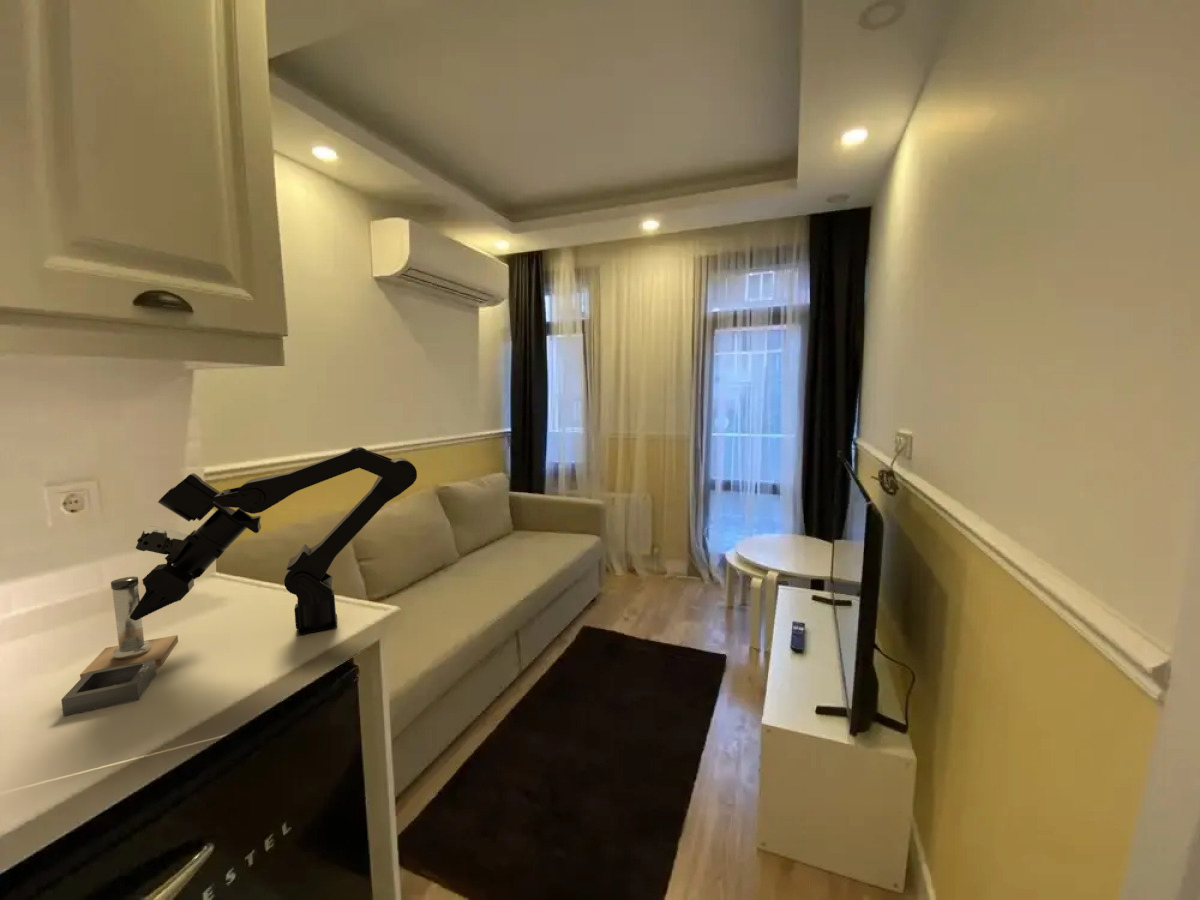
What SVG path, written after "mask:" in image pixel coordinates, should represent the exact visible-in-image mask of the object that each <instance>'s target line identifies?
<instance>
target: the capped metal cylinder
mask: <svg viewBox="0 0 1200 900" xmlns="http://www.w3.org/2000/svg"><path fill="white" fill-rule="evenodd" d="M139 584H140V582H139V577H138V576H127V577H122V578H117V579H114V580H112V581H110V587H111V588H110V589H111V590H112V597H113V599H112V600H113V608H114V616H115V625H116V633H117V642H118V645H119V648H117V649H115V650H114V651H113V658H114V660H127V659H132V658H135V657H138V656H141V655H144V654H146V653H147V652H149V651H150V650H151V642H149V641H147V640H145V637H144V627H143V619H142V618H143V617H142V618H140V619H138V620H136V621H135V620H133V619H131V618H130V615H131V614H132V612H133V611H134V609H135V608H136V606H137V605H138V603H139V602H140V600H141V598H140V591H139Z"/></svg>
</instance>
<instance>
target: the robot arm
mask: <svg viewBox="0 0 1200 900" xmlns="http://www.w3.org/2000/svg"><path fill="white" fill-rule="evenodd" d="M356 469H361V470H363V471H366V472H368V473H371V474H373V475H376V476H377V478H376V480H375V481H374V483H373V485H372V487H371V488H370V489H369V491H368V492H367V493H366V494H365V495H364V496H363V497H362V498H361V499H360V500H359V501H358V502H357V503H356V504H355V505H354V507H352V509H351V510H350V511H348V513H346V515H345V516H344V517H343V518H342V519H341V520H340V521H339V522H338V523H337V524H336V525H335V526H334V527H333V529H332V530H330V531H329V533H328V534H327V535H325V536H324V538H323V539H322V540H321V541H320V542H319V543H317V544H316V545H314V546H312V547H309V546H308V545H307V544H303V545H302V547H301V548H300V550H299V552H298V553H297V554H296V555H294V556H293V557H291V558H290V559H289V561H288V564H287V567H286V570H287V571H286V573H285V576H284V579H283V580H284V583H283V584H284V587H285V590H287V591H288V592H289V593H290V594H293V595H295V596H296V598H297V600H296V602H297V603H296V604H295V605H294V623H295V629H296V630H298V632H297V634H298V635H306V634H311V633H312V634H313V633H316V632H317V633H318V632H322V631H327V630H331V629H332V630H333V629H336V628H338V615H337V611H336V610H337V608H336V597H335V595H336V594H335V589H333V575H331V574H329V573H328V572H327V571H328V570H329V568H330V567H331V565H332V563H333V561H334V560H335V558H336V557H337V556H338V555H339V553H341V551H342V550H343V549H344V548H345V547H346V546H347V545H348V544H349V543H350V542H351V541H352V540H353V538H355V537H356V536H357V534H358V533H360V531H361V530H362V529H363V528H364V527H365V526H366V525H367V524H368V523H369V522H370V520H371V519H373V518H374V516H375V515H376V514H377V513H378V512H379V511H380V510H381V509H382V508H383V507H384V506H385V505H386V504H387V503H388V502H390V501H392V500H394V499H395V498H396V497H398V496H400V495H401V494H402V493H403V492H405V491H406V490H408V489H409V488H410V487H412V486H413V485H414V484H415V482H416V481H417V478H418V471H417V468H416V467H415V465H414V464H413V463H412V462H411V461H409V460H408V459H406V458H403V457H394V458H390V457H387V456H385V455H383V454H378V453H376V452H373V451H370V450H368V449H366V448H365V447H363V446H354V447H352V448H351V449H348V450H347V451H345V452H342V453H341V452H340V453H338V454H336V455H333V456H331V457H328V458H325V459H322V460H320V461H317V462H314V463H311V464H309V465H305V466H303V467H300V468H298V469H294V470H292V471H287V472H283V473H282V472H281V473H277V474H270V475H265V476H261V477H256V478H255V477H254V478H251V479H250V480H247V481H246V482H245V483H243V484H242V485H241V486H239V487H238V486H237V487H233V488H227V489H224V490H221V491H219V490H218V489H217V488H216V487H213V486H212V485H210V483H207V482H206V481H205V480H204V479H202V478H201V477H200V476H198V475H197V474H196V473H193V472H192V473H190V474H188V475H187V476H186V477H185V478H184V479H182V481H180V482H178V484H176V485H175V486H174V487H171V488H170V489H169V490H168V491H167V492H166V493H165V494H164V495H163V496H161V498H159V500H158V501H157V503H158V504H159V505H161V506H163V507H165V508H166V509H167V510H169V511H170V512H172V513H174V514H176V515H177V516H179V517H180V518H182V519H184V520H185V521H188V523H190V522H191V521H196V520H197V521H199V522H200V521H201V520H203V519H204V518H205V517H206V516H207V515H208V514H209V513H210V512H211V511H212V510H213V509H214V508H215V509H216V511H215V512H214V513H212V515H210V516H209V517H208V518H207V519H206V520H205V521H204V522H203V523H202V525H200V526H199V527H198V528H197V529H194V530H193V531H192V532H190V533H189V534H186V533H183V532H180V531H176V530H173V529H172V530H171V529H168V528H163V527H160V526H154V525H153V526H148V527H146V528H145V529H144V530H143V531H142V533H141V535H140V537H138V539H137V544H136V546H135V549H136V550H137V551H138V550H139V551H142V552H146V551H147V552H151V553H155V554H162V555H167V556H165V557H164V560H166V563H162V564H157V565H156V566H155V567H154V568H152V570H151V571H150V572H149V573H147V575H145V576H144V578H142V585H143V586H144V587H145V591H144V594H143V595H142V596H141V598H140V602H139V603H138V605H137V606H136V608H135V609H134V611H133V612H132V614H131V615H130V618H131V619H133V620H135V621H136V620H138V619H140V618H144V617H147V616H149V615H150V614H152V613H154V612H156V611H158V610H160V609H162V608H165V607H167V606H169V605H171V604H174V603H178V602H180V601H182V599H183V598H185V597H186V595H187V594H189V592H190V591H191V590H192V589H193V588H194V587H195V579H198V578H200V577H201V576H202V575H203V574H204V573H205V572H206V570H208V568H209V567H210V566H211V565H212V564H213V563H215V561H216V560H217V559H219V558H220V557H221V556H222V555H223V553H224V552H226V550H227V549H228V548H229V547H230V546H231V545H232V544H233V543H234V542H235V541H236V539H238V538H239V537H240V536H241V535H242V534H243V533H244V532H245V531H246V529H248V530H250V531H251V532H253V533H255V534H258V533H259V532H260V531H261V529H262V524H261V518H262V516H261V515H257V516H251V515H253V514H259V513H262V512H264V511H266V510H268V509H269V508H271V507H273V506H275V505H277V504H279V503H280V502H281V501H283V500H285V499H286V498H288V497H290V496H291V495H294V494H295V493H296V492H298V491H299V492H300V491H301V490H304V489H307V488H309V487H312V486H314V485H315V486H316V485H317V484H319V483H322V482H325V481H327V480H330V479H332V478H335V477H338V476H340V475H343V474H346V473H348V472H351V471H353V470H356ZM234 508H237V509H236V510H235V509H234Z"/></svg>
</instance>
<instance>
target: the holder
mask: <svg viewBox="0 0 1200 900" xmlns="http://www.w3.org/2000/svg"><path fill="white" fill-rule="evenodd" d="M156 675H157V667H156V664H155V659H153V660H148V661H143V662H138V663H132V664H127V665H122V666H117V667H112V668H106V669H101V670H96V671H91V672H87V673H86V674H85V675H84V676H83V677H82V678H80V679H79V680H78V681H77V682H76V683H75V684H74V685H73V687H71V688H70V689H69V690H68V692H67V693H65V695H64V696H63V697H62V698H61V700H60V701H61V708H62V714H63V717H66V716H69V715H74V714H79V713H84V712H89V711H94V710H98V709H102V708H107V707H111V706H116V705H122V704H126V703H130V702H135V701H140V699H141V697H142V696H143V694H144V693H145V691H146V690H147V688H148V687H149V685H150V684H151V683H152V681H153V679H154V678H155V677H156Z"/></svg>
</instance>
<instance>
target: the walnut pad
mask: <svg viewBox="0 0 1200 900" xmlns="http://www.w3.org/2000/svg"><path fill="white" fill-rule="evenodd" d="M146 641H149V642H151V650H150V651H149V652H147V653H146V654H144V655H141V656H138V657H135V658H132V659H127V660H114V658H113V651H114V650H115V649H117V648H119V644H118V645H114V646H108V647H105V648H104V649H103V650H102V651H101V652H100V653H99V654H98V655H97V656H96V657H95V658H94V660H92V661H91V662H90V664H89V665H87V666H86V668H84V670H83V671H82V672H81V673H80V674H79V677H80V679H81V678H82V677H83V676H84V675H85V674H86V673H87V672H91V671H96V670H101V669H106V668H112V667H117V666H122V665H127V664H132V663H138V662H143V661H148V660H153V659H155V664H156V668H158V667H162V666H163V664H164V663H165V661H167V658H168V657H169V655H170V653H171V652H172V651H173V649H175V647H176V645H177V644H178V642H179V636H178V634H175V635H171V636H170V635H169V636H165V637H159V638H153V639H148V640H146Z"/></svg>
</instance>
